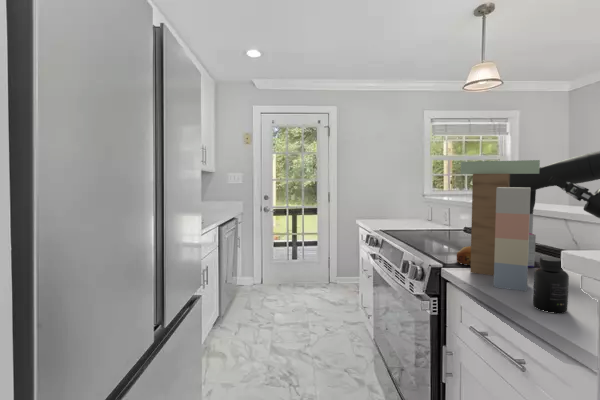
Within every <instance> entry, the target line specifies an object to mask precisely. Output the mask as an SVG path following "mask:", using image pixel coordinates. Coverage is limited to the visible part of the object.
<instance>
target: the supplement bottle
mask: <svg viewBox="0 0 600 400" xmlns="http://www.w3.org/2000/svg"><path fill="white" fill-rule="evenodd" d="M561 259H562V258H559V257H553V256H540V257H539V268H536V269H535V270H534V273H533V274H534V275H533V295H532V305H533V307H534V308H535V307H536V308H538V309H540V310H539V311H541V310H544V311H548V312H554V313H553V314H557V313H559V314H564V312H565V313H566V312H568V306H569V305H568V304H569V285H570V276H569V274H568V272H567V271H565V270H564V269H562V268H561ZM536 308H535V309H536ZM538 309H537V310H538ZM544 311H543V312H544ZM548 312H547V313H548Z"/></svg>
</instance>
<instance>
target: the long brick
mask: <svg viewBox="0 0 600 400" xmlns="http://www.w3.org/2000/svg"><path fill="white" fill-rule="evenodd" d="M540 164H541V160H540V159H537V160H536V159H533V160H531V159H530V160H529V159H528V160H527V159H526V160H525V159H524V160H489V161H488V160H485V161H484V160H482V161H481V160H480V161H479V160H478V161H460V175H473V174H539V168H540Z"/></svg>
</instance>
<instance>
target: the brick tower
mask: <svg viewBox="0 0 600 400" xmlns="http://www.w3.org/2000/svg"><path fill="white" fill-rule="evenodd" d="M530 190H531V187H498V188H496V222H495V257H494V275H493V288H499V289H507V290H514V291H520V292H521V291H522V292H527V290H528V274H529V271H528V270H529V268H528V249H529V219H530Z"/></svg>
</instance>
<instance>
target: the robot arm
mask: <svg viewBox="0 0 600 400" xmlns="http://www.w3.org/2000/svg"><path fill="white" fill-rule="evenodd" d="M599 180H600V150H598V151H593V152H590V153H585V154H581V155H576V156H573V157H570V158H566V159H563V160H559V161H556V162H554V163H550V164H548V165H544V166H541V167H540V168H539V174H510V187H531V190H530V219H529V233H531V234H533V232H534V231H533V230H534V229H533V228H534V209H535V205H536V197H537V196H536V195H537V194H536V193H537V191H538V190H540V189H544V188H548V187H555V186H556V187H558V188H559V189H561V190H563V191H564V192H565V194H567V195H569V196H571V197H573V199H575V200H577V201H579V202H581V201H582V200H583V201H584V202H586V203H585V205H584V206H583V211H585V212H586V213H588V214H590V215H592V216H594V217H595V218H598V219H600V188H598V189H597V190H596V191H595V192H593V193H592V192H591V191H590V189H589V188H587V187H584V186H581V185H579V184H584V183H589V182H593V181H599ZM589 191H590V192H589Z"/></svg>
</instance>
